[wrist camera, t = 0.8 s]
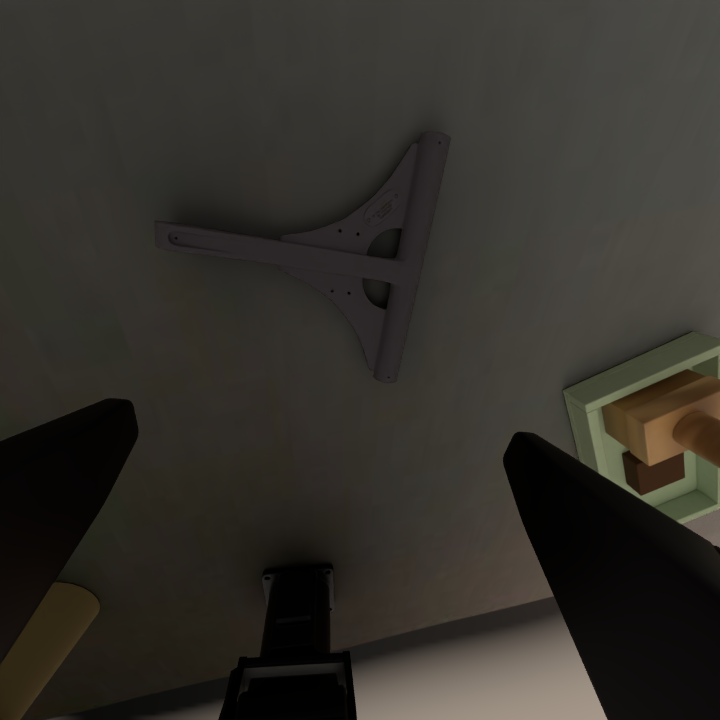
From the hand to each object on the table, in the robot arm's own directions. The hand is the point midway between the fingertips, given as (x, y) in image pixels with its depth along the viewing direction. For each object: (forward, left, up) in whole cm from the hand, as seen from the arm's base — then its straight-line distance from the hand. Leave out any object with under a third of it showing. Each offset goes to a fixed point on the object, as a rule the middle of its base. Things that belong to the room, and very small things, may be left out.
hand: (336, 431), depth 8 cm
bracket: (+3, +2, -14) cm, 15 cm away
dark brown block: (-14, -28, -14) cm, 34 cm away
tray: (-13, -27, -14) cm, 33 cm away
